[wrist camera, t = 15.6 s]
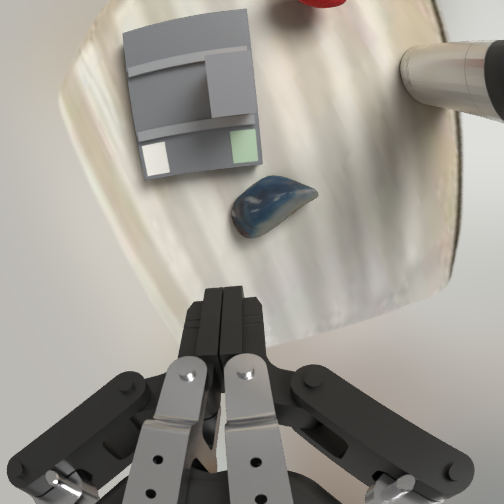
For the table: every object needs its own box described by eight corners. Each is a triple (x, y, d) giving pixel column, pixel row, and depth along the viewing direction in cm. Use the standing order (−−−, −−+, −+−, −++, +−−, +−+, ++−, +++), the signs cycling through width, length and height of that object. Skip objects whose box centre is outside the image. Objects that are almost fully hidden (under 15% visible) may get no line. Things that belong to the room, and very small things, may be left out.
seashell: (220, 230, 39) (286, 261, 36) (237, 164, 36) (310, 190, 32) (243, 224, 45) (302, 250, 41) (260, 166, 41) (324, 189, 38)
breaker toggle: (249, 59, 28) (251, 50, 21) (254, 109, 31) (257, 112, 25) (212, 63, 28) (204, 55, 22) (218, 113, 31) (211, 118, 25)
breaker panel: (246, 15, 27) (246, 6, 24) (261, 159, 37) (263, 165, 34) (130, 36, 27) (120, 32, 24) (151, 173, 38) (143, 182, 34)
